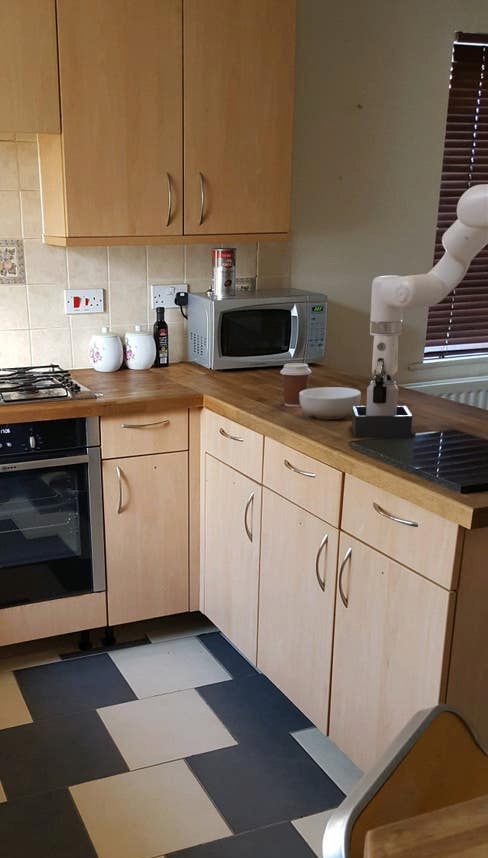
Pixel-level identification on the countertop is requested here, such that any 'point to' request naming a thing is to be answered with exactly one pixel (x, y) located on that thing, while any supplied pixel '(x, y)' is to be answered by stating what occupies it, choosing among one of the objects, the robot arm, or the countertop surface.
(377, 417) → the tote
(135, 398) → the countertop surface
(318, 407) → the cereal bowl
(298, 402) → the coffee cup
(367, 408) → the can
